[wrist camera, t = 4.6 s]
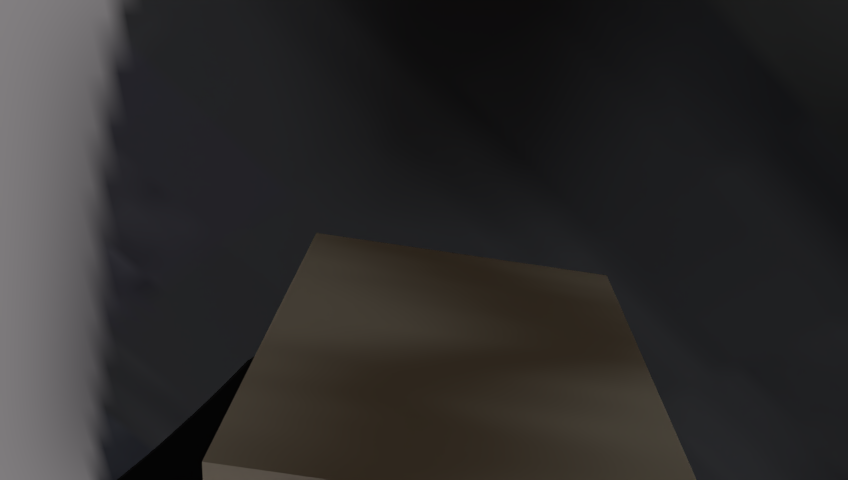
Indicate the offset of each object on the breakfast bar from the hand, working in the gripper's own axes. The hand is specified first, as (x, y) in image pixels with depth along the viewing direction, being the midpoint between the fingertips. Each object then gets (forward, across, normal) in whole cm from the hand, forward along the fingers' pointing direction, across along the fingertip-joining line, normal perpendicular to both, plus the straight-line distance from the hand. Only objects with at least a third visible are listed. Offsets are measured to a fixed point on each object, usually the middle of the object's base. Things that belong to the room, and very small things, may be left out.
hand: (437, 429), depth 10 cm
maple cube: (+2, 0, 0) cm, 2 cm away
